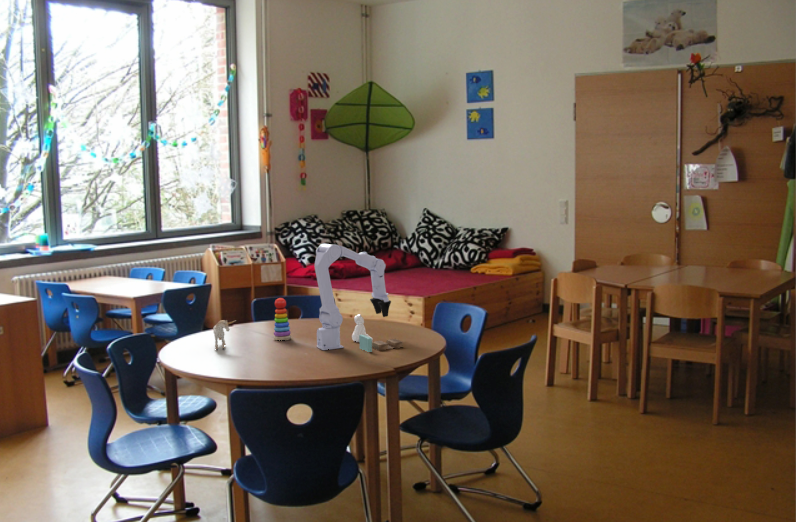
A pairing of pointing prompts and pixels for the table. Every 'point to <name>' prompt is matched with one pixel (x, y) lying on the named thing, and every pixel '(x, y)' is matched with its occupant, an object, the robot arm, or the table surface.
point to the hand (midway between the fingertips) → (382, 315)
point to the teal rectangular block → (365, 343)
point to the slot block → (387, 344)
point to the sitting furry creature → (359, 328)
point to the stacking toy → (281, 321)
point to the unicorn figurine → (221, 331)
